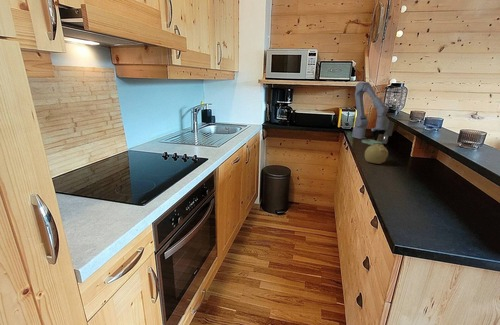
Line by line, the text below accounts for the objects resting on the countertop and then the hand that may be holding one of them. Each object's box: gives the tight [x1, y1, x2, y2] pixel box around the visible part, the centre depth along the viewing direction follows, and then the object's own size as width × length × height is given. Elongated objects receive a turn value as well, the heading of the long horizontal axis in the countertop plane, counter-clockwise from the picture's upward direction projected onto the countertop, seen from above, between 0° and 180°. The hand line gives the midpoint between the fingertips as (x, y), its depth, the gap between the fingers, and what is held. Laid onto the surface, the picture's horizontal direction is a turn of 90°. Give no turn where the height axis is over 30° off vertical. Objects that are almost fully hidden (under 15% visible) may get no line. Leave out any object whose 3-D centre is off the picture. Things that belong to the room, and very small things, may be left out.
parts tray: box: [360, 138, 384, 146], centre depth 193 cm, size 12×9×2 cm
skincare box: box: [384, 116, 395, 137], centre depth 222 cm, size 8×7×16 cm
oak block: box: [375, 134, 383, 142], centre depth 200 cm, size 4×4×6 cm
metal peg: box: [381, 135, 389, 145], centre depth 194 cm, size 4×4×6 cm
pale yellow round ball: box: [364, 144, 389, 165], centre depth 147 cm, size 12×12×11 cm
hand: (377, 139), depth 200 cm, fingers closed on oak block, 4 cm apart
